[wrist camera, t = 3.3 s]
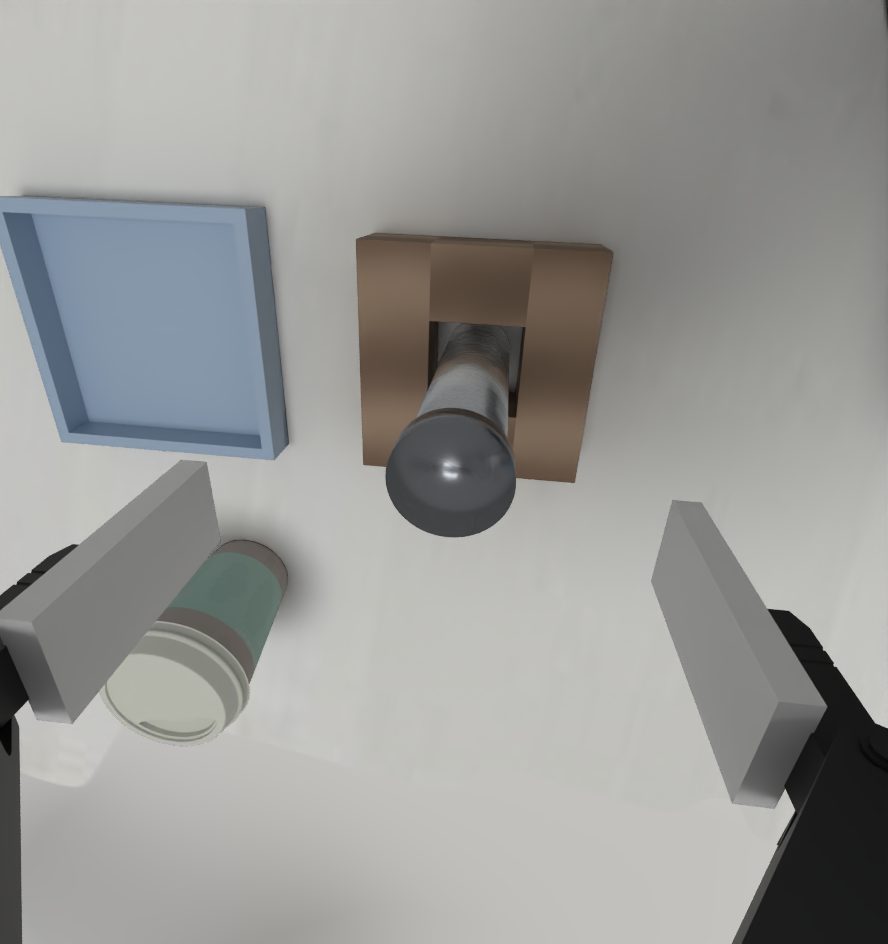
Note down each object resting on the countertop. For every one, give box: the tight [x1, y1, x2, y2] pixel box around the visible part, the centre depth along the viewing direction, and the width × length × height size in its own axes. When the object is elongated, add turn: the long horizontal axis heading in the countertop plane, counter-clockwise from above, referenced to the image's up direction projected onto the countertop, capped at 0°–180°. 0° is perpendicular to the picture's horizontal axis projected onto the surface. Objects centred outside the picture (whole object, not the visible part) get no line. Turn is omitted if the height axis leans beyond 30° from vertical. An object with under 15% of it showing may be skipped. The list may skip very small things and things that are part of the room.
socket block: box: [356, 233, 613, 483], centre depth 30 cm, size 12×12×4 cm
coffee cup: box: [99, 540, 288, 746], centre depth 36 cm, size 8×8×12 cm
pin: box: [386, 323, 516, 537], centre depth 25 cm, size 4×4×16 cm
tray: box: [0, 196, 289, 460], centre depth 32 cm, size 14×14×2 cm
